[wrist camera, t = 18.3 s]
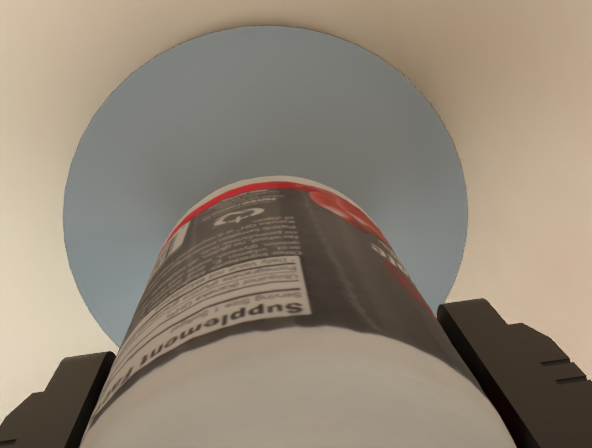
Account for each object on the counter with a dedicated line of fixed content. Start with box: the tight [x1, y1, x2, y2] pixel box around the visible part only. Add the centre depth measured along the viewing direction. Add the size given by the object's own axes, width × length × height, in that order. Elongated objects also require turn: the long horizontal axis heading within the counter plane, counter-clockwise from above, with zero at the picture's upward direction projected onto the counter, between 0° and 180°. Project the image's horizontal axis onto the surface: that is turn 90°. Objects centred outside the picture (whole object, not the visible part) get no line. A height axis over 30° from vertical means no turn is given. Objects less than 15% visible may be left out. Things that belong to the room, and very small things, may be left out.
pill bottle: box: [79, 176, 517, 448], centre depth 8 cm, size 5×5×10 cm
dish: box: [63, 25, 468, 348], centre depth 16 cm, size 11×11×1 cm
